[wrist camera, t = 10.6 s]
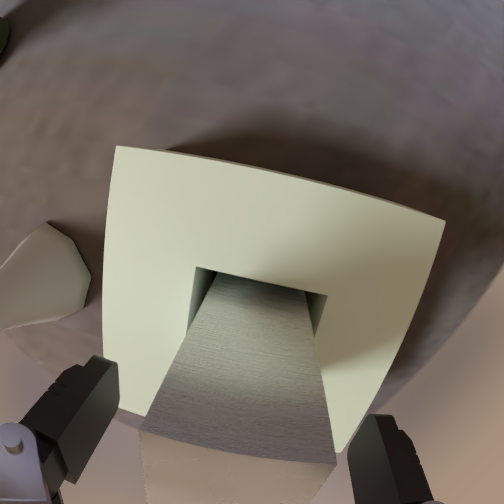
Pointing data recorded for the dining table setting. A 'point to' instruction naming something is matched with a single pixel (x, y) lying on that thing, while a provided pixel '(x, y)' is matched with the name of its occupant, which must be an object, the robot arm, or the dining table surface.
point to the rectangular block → (241, 404)
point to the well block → (258, 267)
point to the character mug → (3, 32)
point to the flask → (42, 280)
